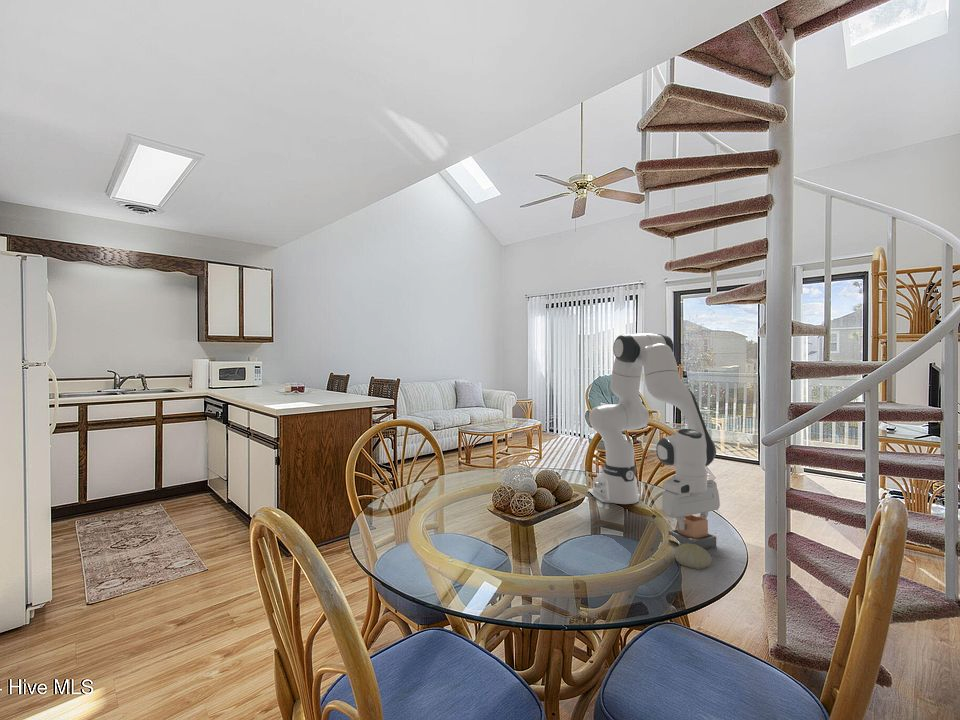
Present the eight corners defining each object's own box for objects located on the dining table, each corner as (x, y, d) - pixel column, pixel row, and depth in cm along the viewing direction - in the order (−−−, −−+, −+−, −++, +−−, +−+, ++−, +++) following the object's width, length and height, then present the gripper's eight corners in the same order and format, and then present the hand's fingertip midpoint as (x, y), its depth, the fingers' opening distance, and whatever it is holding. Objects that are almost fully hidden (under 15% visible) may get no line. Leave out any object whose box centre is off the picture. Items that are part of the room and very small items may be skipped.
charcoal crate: (668, 539, 139) (668, 530, 139) (691, 535, 143) (691, 525, 143) (693, 551, 130) (692, 541, 130) (716, 546, 134) (716, 536, 134)
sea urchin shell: (699, 568, 116) (680, 539, 121) (681, 580, 121) (664, 552, 126) (721, 560, 121) (702, 532, 126) (703, 572, 125) (685, 545, 130)
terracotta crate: (677, 532, 138) (677, 516, 138) (692, 529, 140) (691, 513, 140) (693, 539, 132) (692, 522, 132) (708, 536, 135) (707, 519, 135)
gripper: (707, 476, 143) (708, 519, 143) (658, 484, 136) (659, 529, 136) (724, 481, 137) (725, 525, 137) (674, 489, 130) (675, 536, 130)
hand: (692, 527), depth 136 cm, fingers closed on terracotta crate, 6 cm apart
